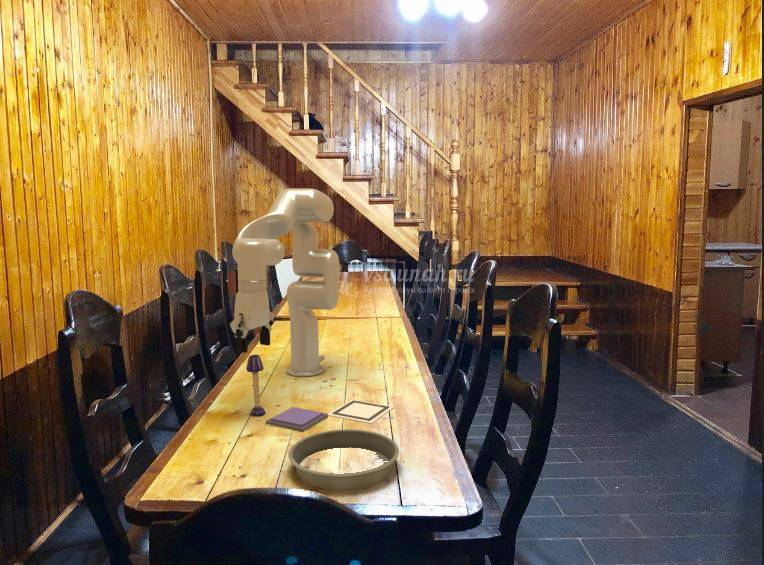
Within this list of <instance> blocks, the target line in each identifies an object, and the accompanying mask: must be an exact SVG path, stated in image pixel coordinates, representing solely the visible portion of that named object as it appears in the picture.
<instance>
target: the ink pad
mask: <svg viewBox="0 0 764 565" xmlns="http://www.w3.org/2000/svg"><path fill="white" fill-rule="evenodd" d="M328 417H329V415H328V413H323V412H321V411H316V410H312V409H306V408H301V407H295V406H291V407H290V408H288V409H286V410H284V411H282V412H281V413H278V414H276V415H274V416H273V417H271V418H269V419H266V421H265V425H268V424H270V425H269V426H273V425H274V426H273V427H278V426H279V427H278V428H283V427H284V428H283V429H287V428H288V430H293V431H298V432H304V433H305V431H307V430H308V429H310V428H312V427H313V426H315V425H317V424H319V423H320V422H322V421H324V420H325V419H326V418H328Z"/></svg>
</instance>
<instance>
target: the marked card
mask: <svg viewBox="0 0 764 565" xmlns="http://www.w3.org/2000/svg"><path fill="white" fill-rule="evenodd" d="M392 408H393V409H395V406H392V405H386V404H380V403H374V402H370V401H363V400H357V399H350V400H349V401H347V402H345V403H344V404H342V405H340V406H339V407H337V408H335V409H334V410H331V412H329V413H327V414H328V417H329V416H330V417H335V418H339V417H340V419H345V418H346V420H350V419H351V421H355V420H356V422H360V421H361V422H360V423H365V422H366V423H367V424H371V423H372V424H373V423H375V422H376V421H378V420H379V419H380V418H381V416H382V417H383V416H384V415H386V414H387V413H388V411H389V410H390V411H392V410H393V409H392ZM390 411H389V412H390ZM385 413H386V414H385ZM378 418H379V419H378Z"/></svg>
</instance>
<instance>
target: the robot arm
mask: <svg viewBox="0 0 764 565" xmlns="http://www.w3.org/2000/svg"><path fill="white" fill-rule="evenodd" d="M334 209H335V208H334V203H333V200H332V198H331V197H330V196H328V194H325V193H324V192H322V191H320V190H318V189H315V188H286V189H282V190H281V191H280V192H279V193H278V194H277V196H276V197H275V199H274V201H273V202H272V204H271V206H270V208H269V210H268V211H267V213H266V214H265V215H262V216H260V217H258V218H256V219H255V220H253V221H251V222H249V223H248V224H247V225H245V226H244V227H243V228H242V229H241V230H240V231H239V233H238V235H237V237H236V239H235V240H234V242H233V246H232V249H231V250H232V258H233V259H234V261H235V262H236V263H237V282H238V283H237V284H238V285H237V289H238V292H236V295H235V302H234V314H233V316H234V318H233V320H232V321H231V322H230V324H229V326H230V328H231V330H232V331H231V332H232V334H233V335H234V337H235V338H236V352H238V353H244V354H246V353H248V350H249V349H248V346H249V345H248V337H247V335H248V332H249V331H251V330H255V329H258V328H260V330H259V344H260V345H261V346H270V345H271V331H272V326H273V324H274V319H275V312H272V311H271V310H270V303H269V302H270V301H269V294H268V288H267V284H268V282H267V281H268V280H267V266H277V265H278V264H280V263H281V262H282V261H283V259H284V257H285V246H284V245H283V244H282V242H281V241H280V240H278V239H276V238H280V237H282V236H285V235H287V234H289V233H290V232H292V260H291V263H292V271H293V273H294V275H296V276H297V277H304V278H306V277H308V278H323V281H322V280H320V281H319V280H317V281H315V280H295V281H293V282H291V283H290V284H289V285H288V286H287V288H286V300H287V304H288V310H289V311H288V312H289V324H290V326H289V327H290V328H289V329H290V331H289V332H290V366H288V367H287V368H286V374H288V375H290V376H293V377H312V376H313V377H314V376H318V375H320V374H322V373H323V372H324V366H323V365H321V362H323V361H324V360H325V359H326V357H325V355H322V354H321V355H319V354H320V350H319V349H320V348H319V343H320V342H319V341H320V340H319V320H318V317H317V316H316V314H315V312H314V311H313V310H322V311H323V310H325V311H327V310H328V311H329V310H331V311H332V310H334V309H335V308H336V307H337V306H338V303H339V296H340V295H339V294H340V292H339V291H340V258H339V255H338V254H337V253H338V252H336V251H335V250H333V249H328V248H327V249H326V248H319V233H318V232H317V229H316V228H315V226H314V225H313V224H312V223H311V222H313V223H319V222H320V223H326V222H328V221H330V220H331V219H332V218H333V216H334V212H335V211H334Z"/></svg>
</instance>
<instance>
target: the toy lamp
mask: <svg viewBox="0 0 764 565" xmlns="http://www.w3.org/2000/svg"><path fill="white" fill-rule="evenodd" d="M261 358H262V357H261V356H260V355H259V354H251V355H249V356H248V359H247V364H246V372H249V373H251V375H252V377H251V378H252V386H253V388H252V391H253V401H254V405H253V406H254V407H253V408H251V409H250V413H249V415H250V416H251V417H255V416H257V417H262V416H264V415H266V410H265V408H264V407H263V406H262V405H261V397H260V396H261V392H260V382H259V379H260V377H259V372H261V371H263V370H264V364H263V362H262V359H261Z"/></svg>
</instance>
